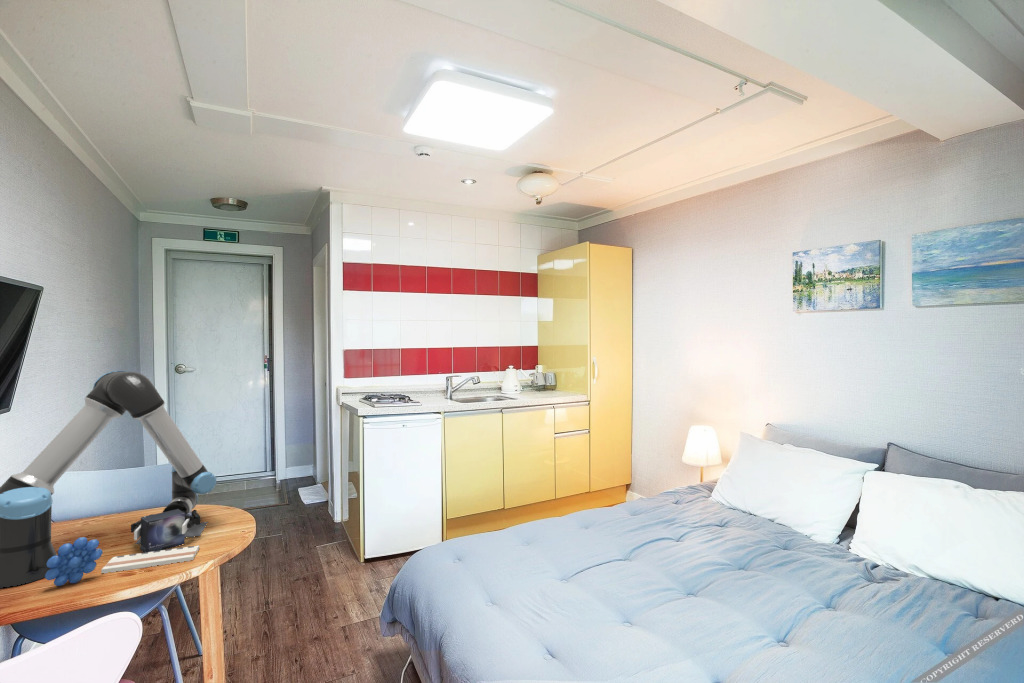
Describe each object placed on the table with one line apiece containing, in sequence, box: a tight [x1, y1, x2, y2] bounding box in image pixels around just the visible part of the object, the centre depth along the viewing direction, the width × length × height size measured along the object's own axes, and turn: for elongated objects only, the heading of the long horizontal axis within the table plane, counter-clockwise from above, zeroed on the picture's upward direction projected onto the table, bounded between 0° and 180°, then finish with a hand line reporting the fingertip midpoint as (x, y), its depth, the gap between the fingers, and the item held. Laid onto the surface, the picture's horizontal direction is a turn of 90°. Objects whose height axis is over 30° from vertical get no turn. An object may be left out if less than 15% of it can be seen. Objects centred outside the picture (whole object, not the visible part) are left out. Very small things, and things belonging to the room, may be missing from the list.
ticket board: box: [100, 545, 200, 574], centre depth 145 cm, size 22×9×1 cm, turn 113°
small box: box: [139, 509, 186, 553], centre depth 155 cm, size 11×6×10 cm, turn 143°
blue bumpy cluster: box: [44, 536, 104, 587], centre depth 132 cm, size 12×7×12 cm, turn 137°
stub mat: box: [134, 521, 209, 545], centre depth 167 cm, size 18×14×1 cm
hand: (159, 532), depth 151 cm, fingers closed on small box, 12 cm apart
